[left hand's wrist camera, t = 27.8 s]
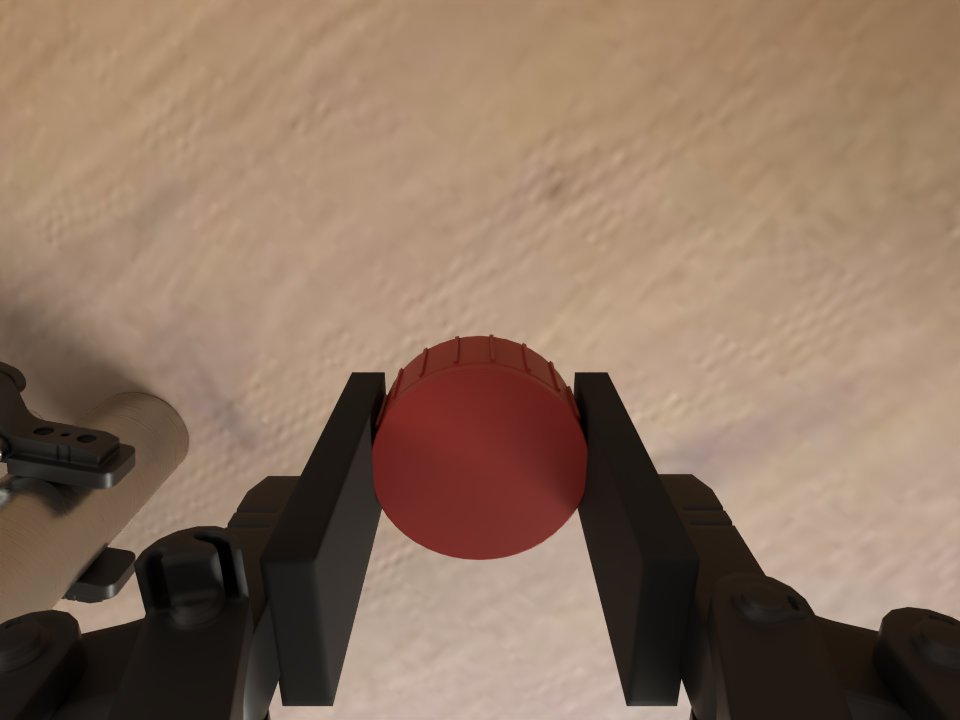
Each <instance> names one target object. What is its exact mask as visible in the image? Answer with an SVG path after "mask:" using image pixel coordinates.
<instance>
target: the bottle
mask: <svg viewBox="0 0 960 720" xmlns="http://www.w3.org/2000/svg"><path fill="white" fill-rule="evenodd" d="M73 426H78V427H80V428H81V427H84V428H90V429H96V430H101V431H107V432H109V433H111V434H113V435H114V436H116V437H118V438H120V443H122V444H127V445H131V446H133V447H134V448H135V467H134V468H133V469H132V470H131V471H130V472H129V473H128V474H127V475H126V476H125V477H124V478H123V479H122V480H121V481H120V482H119V483H118V484H117V485H115V486H114V487H111V488H108V489H101V490H100V489H92V488H86V487H80V486H74V485H68V484H63V483H57V482H51V481H45V480H40V479H35V478H28V477H21V476H15V475H9V474H8V473H7V474H6V475H5V476H3V477H2V478H0V624H2V623H4V622H5V621H7V620H10V619H13V618H16V617H19V616H22V615H25V614H28V613H31V612H37V611H46V610H51V609H52V608H53V607H54V606H55V605H56V604H57V602H58V601H59V600H60V599H61V598H62V597H63V596H64V595H65V593H66V592H67V591H68V590H69V589H70V588H71V587H72V586H73V584H74V583H75V582H76V581H77V580H78V579H79V578H80V577H81V575H82V574H83V573H84V572H85V571H86V570H87V569H88V567H89V566H90V565H91V564H92V563H93V562H94V561H95V560H96V558H97V557H98V556H99V555H100V554H101V553H102V552H103V551H104V549H105V548H106V547H107V546H108V545H109V544H110V543H111V542H112V540H113V539H114V538H115V537H116V536H117V535H118V534H119V533H120V531H121V530H122V529H123V528H124V527H125V526H126V525H127V524H128V522H129V521H130V520H131V519H132V518H133V517H134V516H135V515H136V513H137V512H138V511H139V510H140V509H141V508H142V507H143V505H144V504H145V503H146V502H147V501H148V500H149V499H150V498H151V496H152V495H153V494H154V493H155V492H156V491H157V490H158V489H159V487H160V486H161V485H162V484H163V483H164V482H165V481H166V480H167V478H168V477H169V476H170V475H171V474H172V473H173V472H174V471H175V469H176V468H177V467H178V466H179V465H180V464H181V463H182V461H183V460H184V458H185V456H186V454H187V451H188V446H189V437H188V432H187V429H186V426H185V424H184V422H183V421H182V419H181V417H180V416H179V415H178V414H177V412H176V411H175V410H174V409H173V408H172V407H170V406H169V405H168V404H166V403H165V402H163V401H162V400H160V399H158V398H156V397H153V396H151V395H148V394H143V393H137V392H128V393H121V394H117V395H115V396H112V397H111V398H109V399H107V400H106V401H105V402H103V403H102V404H100V405H99V406H98V407H96V408H95V409H94V410H92V411H91V412H90V413H88V414H87V415H86V416H84V417H83V418H82V419H80V420H79V421H78V422H76V423H75V424H73Z"/></svg>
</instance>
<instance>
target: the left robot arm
mask: <svg viewBox="0 0 960 720" xmlns="http://www.w3.org/2000/svg"><path fill="white" fill-rule="evenodd" d="M385 394H386V387H385V372H352V374H351V376H350V378H349V380H348V382H347V384H346V386H345V388H344V390H343V392H342V394H341V396H340V398H339V400H338V402H337V404H336V406H335V408H334V410H333V412H332V414H331V416H330V418H329V420H328V422H327V424H326V426H325V428H324V430H323V432H322V434H321V436H320V438H319V440H318V442H317V444H316V446H315V448H314V450H313V452H312V454H311V456H310V458H309V460H308V462H307V464H306V466H305V468H304V470H303V472H302V474H301V476H268V477H266V478H265V479H264V480H262V481H261V482H260V483H258V484H257V485H256V486H254V487H253V488H252V489H250V490H249V491H248V492H247V494H246V495H245V497H244V499H243V500H242V502H241V503H240V505H239V507H238V508H237V513H234V515H233V516H232V518H231V520H230V521H229V523H228V527H227V528H225V529H224V528H221V527H217V526H197V527H193V528H189V529H184V530H180V531H177V532H174V533H172V534H170V535H168V536H165V537H163V538H161V539H159V540H157V541H156V542H154V543H153V544H152V545H150V546H149V547H148V548H146V549H145V550H144V551H143V552H142V553H141V554H140V556H139V557H138V558H137V560H136V561H135V562H134V568H135V572H136V576H137V580H138V584H139V588H140V592H141V596H142V600H143V604H144V608H145V612H146V615H145V618H143V619H139V620H136V621H133V622H130V623H126V624H122V625H118V626H114V627H109V628H105V629H101V630H97V631H92V632H88V633H84V634H81V631H80V627H79V624H78V621H77V620H76V619H75V618H74V617H73V616H72V615H70V614H69V613H68V612H62V611H57V610H46V611H37V612H31V613H28V614H25V615H22V616H19V617H16V618H13V619H10V620H7V621H5V622H4V623H2V624H0V720H271V719H270V714H269V706H270V703H271V700H272V697H273V694H274V692H275V689H276V686H277V683H278V680H279V687H280V693H281V699H282V705H283V706H333V703H334V699H335V695H336V691H337V687H338V683H339V679H340V675H341V671H342V667H343V663H344V659H345V655H346V651H347V647H348V643H349V639H350V635H351V631H352V627H353V623H354V619H355V615H356V611H357V607H358V603H359V599H360V595H361V591H362V587H363V583H364V579H365V575H366V571H367V567H368V563H369V559H370V555H371V551H372V547H373V542H374V538H375V534H376V530H377V526H378V522H379V518H380V514H381V510H382V507H381V506H380V503H379V501H378V499H377V497H376V495H375V489H374V475H373V461H372V443H373V440H374V437H375V434H376V431H377V428H375V424H376V421H377V418H378V415H379V412H380V408H381V405H382V402H383V399H384V396H385ZM574 399H575V402H576V404H577V407H578V410H579V413H580V416H581V418H580V419H579V420H580V423H581V426H582V429H583V432H584V435H585V439H586V442H587V445H588V451H587V466H586V480H585V492H584V495H583V497H582V499H581V501H580V503H579V506H578V507H577V508H578V512H579V516H580V520H581V524H582V528H583V532H584V536H585V540H586V544H587V548H588V552H589V556H590V560H591V564H592V568H593V572H594V576H595V580H596V584H597V588H598V592H599V596H600V600H601V604H602V608H603V612H604V616H605V620H606V624H607V628H608V632H609V636H610V640H611V644H612V648H613V652H614V656H615V660H616V664H617V668H618V672H619V676H620V680H621V685H622V689H623V693H624V697H625V701H626V705H627V706H677V703H678V697H679V690H680V684H681V679H682V681H683V684H684V687H685V690H686V692H687V695H688V698H689V701H690V704H691V706H692V708H691V714H690V719H689V720H960V621H958V620H956V619H954V618H952V617H950V616H947V615H944V614H941V613H938V612H935V611H932V610H928V609H920V608H912V607H906V608H900V609H895V610H891V611H890V612H889V613H888V614H887V615H886V616H885V617H884V618H883V619H882V622H881V626H880V629H879V631H874V630H870V629H866V628H861V627H857V626H853V625H848V624H844V623H840V622H835V621H832V620H829V619H825V618H822V617H819V616H816V615H815V614H814V612H813V610H812V609H811V607H810V606H809V604H808V602H807V601H806V599H805V598H803V597H802V596H801V595H800V594H799V593H797V592H796V591H795V590H794V589H793V588H791V587H790V586H788V585H786V584H784V583H782V582H780V581H778V580H776V579H774V578H772V577H768V576H766V575H765V574H764V572H763V571H762V569H761V567H760V566H759V564H758V563H757V561H756V559H755V558H754V556H753V555H752V553H751V551H750V550H749V548H748V546H747V545H746V543H745V542H744V540H743V538H742V537H741V535H740V534H739V532H738V530H737V529H736V527H735V526H733V525H732V521H731V519H730V518H729V516H728V514H727V513H726V511H723V506H722V505H721V503H720V502H719V500H718V498H717V497H716V495H715V493H714V492H713V490H712V489H711V488H709V487H708V486H707V485H705V484H704V483H703V482H701V481H700V480H699V479H697V478H696V477H695V476H693V475H692V474H658V473H657V471H656V469H655V467H654V465H653V463H652V461H651V459H650V457H649V455H648V453H647V451H646V449H645V447H644V445H643V443H642V441H641V439H640V437H639V435H638V433H637V431H636V429H635V427H634V425H633V423H632V421H631V419H630V417H629V415H628V413H627V411H626V409H625V407H624V405H623V403H622V401H621V399H620V397H619V395H618V393H617V391H616V389H615V387H614V385H613V383H612V381H611V379H610V377H609V375H608V373H607V372H575V380H574Z"/></svg>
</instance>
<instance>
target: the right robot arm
mask: <svg viewBox="0 0 960 720" xmlns="http://www.w3.org/2000/svg"><path fill="white" fill-rule="evenodd" d="M25 386H26V380H25V377H24V375H23V374H22V373H21V372H20V371H19V370H18V369H16V368H15V367H12V366H10V365H8V364H5V363H3V362H0V462H4V463H7V469H8V474H9V475H15V476H21V477H28V478H35V479H40V480H45V481H51V482H57V483H63V484H68V485H74V486H80V487H86V488H92V489H100V490H101V489H108V488H111V487H114V486H115V485H117V484H118V483H119V482H120V481H121V480H122V479H123V478H124V477H125V476H126V475H127V474H128V473H129V472H130V471H131V470H132V469H133V468H134V467H135V448H134V447H133V446H131V445H127V444H122V443H120V438H118V437H116V436H114V435H113V434H111V433H109V432H107V431H101V430H96V429H90V428H84V427H81V428H80V427H78V426H73V425H67V424H61V423H56V422H50V421H45V420H43V419H42V417H41V416H40V415H39V414H38V413H36V412H35V411H33V410H29V409H27V408H26V406H25V404H24V402H23V399H22V397H21V395H20V392H22V391H23V390H24V389H25ZM134 562H135V554H134V553H133V552H131V551H127V550H121V549H115V548H109V547H106V548H105V549H104V551H103V552H102V553H101V554H100V555H99V556H98V557H97V558H96V560H95V561H94V562H93V563H92V564H91V565H90V566H89V567H88V569H87V570H86V571H85V572H84V573H83V574H82V575H81V577H80V578H79V579H78V580H77V581H76V582H75V583H74V584H73V586H72V587H71V588H70V589H69V590H68V591H67V592H66V593H65V595H64V596H63V597H62V598H61V599H66V598H67V600H73V601H75V600H77V601H79V602H86V603H95V602H102V601H103V600H105V599H109V598H112V597H114V596H115V595H117V594H118V593H119V591H120V590H121V589H122V587H123V586H124V585H125V584H126V582H127V581H128V580H129V578H130V577H131V576H132V575H133V573H134V572H135V568H134Z"/></svg>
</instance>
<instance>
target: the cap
mask: <svg viewBox="0 0 960 720" xmlns="http://www.w3.org/2000/svg"><path fill="white" fill-rule="evenodd" d="M580 418H581V416H580V413H579V410H578V407H577V404H576V402H575V399H574V396H573V393H572V390H571V388H570V386H568V387H567V386H566V384H565V382H564V380H563V379H562V377H561V376H560V374H559V373H558V372H557V371H556V370H555V368H554V365H553V363H552V362H551V361H550V362H548V361H546V360H545V359H544V358H543V357H542V356H540V355H539V354H537V353H536V352H534V351H533V350H531V349H529V348H527V346H526V344H524V343H523V344H522V345H521V344H519V343H516V342H513V341H509V340H506V339H501V338H496V337H493V335H490V336H489V337H487V336H472V337H463V338H459V336H457V337H455V339H452V340H450V341H446V342H443V343H440V344H438V345H436V346H434V347H432V348H430V349H427V348H425V349H424V351H423V353H422V354H420V355H418V356H417V357H416V358H415V359H414V360H412V361H411V362H410V363H409V364H408V365H407V366H406V367H405V368H404V369H402V368H401V369H400V370H399V373H398V376H397V378H396V380H395V381H394V383H393V385H392V387H391V389H390V391H389V393H388V395H386V394H385V396H384V399H383V402H382V405H381V408H380V412H379V415H378V418H377V421H376V424H375V428H377V431H376V434H375V437H374V440H373V443H372V461H373V475H374V489H375V495H376V497H377V499H378V501H379V503H380V506H381V507H382V509H383V510H384V512H385V513H386V515H387V517H388V518H389V519H390V520H391V521H392V522H393V524H394V525H395V526H396V527H397V528H398V529H399V530H400V531H402V532H403V533H404V534H405V535H406V536H408V537H409V538H410V539H412V540H413V541H415V542H416V543H418V544H420V545H422V546H424V547H425V548H427V549H430V550H432V551H435V552H437V553H440V554H443V555H447V556H451V557H456V558H462V559H472V560H487V559H497V558H503V557H508V556H512V555H515V554H519V553H521V552H524V551H526V550H529V549H531V548H533V547H535V546H537V545H539V544H541V543H543V542H544V541H545V540H547V539H548V538H550V537H551V536H553V535H554V534H555V533H556V532H557V531H558V530H559V529H561V528H562V527H563V526H564V525H565V523H566V522H567V521H568V520H569V519H570V518H571V516H572V515H573V513H574V512H575V510H576V509H577V507H578V506H579V503H580V501H581V499H582V497H583V495H584V492H585V480H586V466H587V451H588V445H587V442H586V439H585V435H584V432H583V429H582V426H581V423H580V420H579V419H580Z"/></svg>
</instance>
